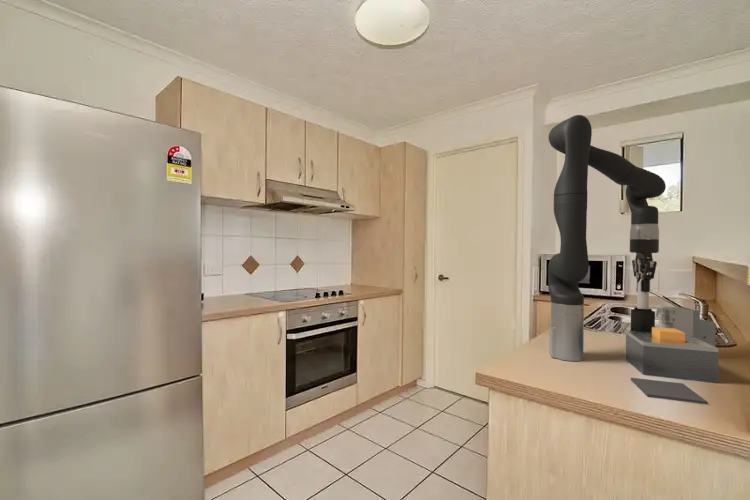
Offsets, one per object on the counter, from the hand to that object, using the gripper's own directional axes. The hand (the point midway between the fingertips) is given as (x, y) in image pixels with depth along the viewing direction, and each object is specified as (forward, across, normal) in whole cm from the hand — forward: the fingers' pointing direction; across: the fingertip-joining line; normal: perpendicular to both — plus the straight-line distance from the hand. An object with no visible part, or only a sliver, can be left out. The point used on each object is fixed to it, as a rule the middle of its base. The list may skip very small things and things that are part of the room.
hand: (643, 290), depth 112 cm
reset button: (+16, +15, +1) cm, 22 cm away
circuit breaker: (+21, -6, +14) cm, 26 cm away
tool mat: (+21, +33, -6) cm, 40 cm away
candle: (+19, 0, 0) cm, 19 cm away
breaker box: (+21, +15, +1) cm, 26 cm away
